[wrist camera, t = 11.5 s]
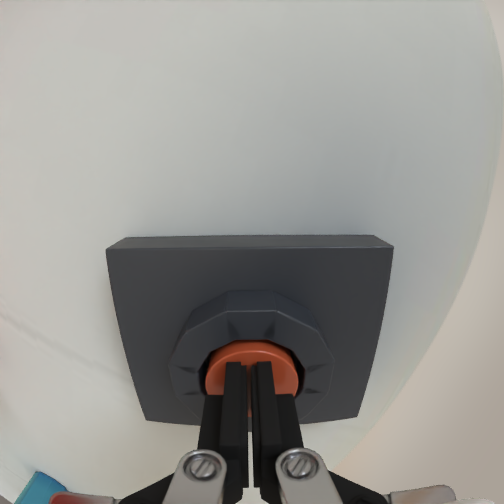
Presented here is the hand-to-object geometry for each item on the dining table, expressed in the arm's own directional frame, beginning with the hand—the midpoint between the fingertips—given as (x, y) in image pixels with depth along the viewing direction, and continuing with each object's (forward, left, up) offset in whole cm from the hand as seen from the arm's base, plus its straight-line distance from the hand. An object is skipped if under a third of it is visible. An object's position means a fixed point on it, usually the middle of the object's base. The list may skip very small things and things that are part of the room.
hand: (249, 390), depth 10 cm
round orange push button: (0, 0, -2) cm, 2 cm away
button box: (0, 0, -4) cm, 4 cm away
